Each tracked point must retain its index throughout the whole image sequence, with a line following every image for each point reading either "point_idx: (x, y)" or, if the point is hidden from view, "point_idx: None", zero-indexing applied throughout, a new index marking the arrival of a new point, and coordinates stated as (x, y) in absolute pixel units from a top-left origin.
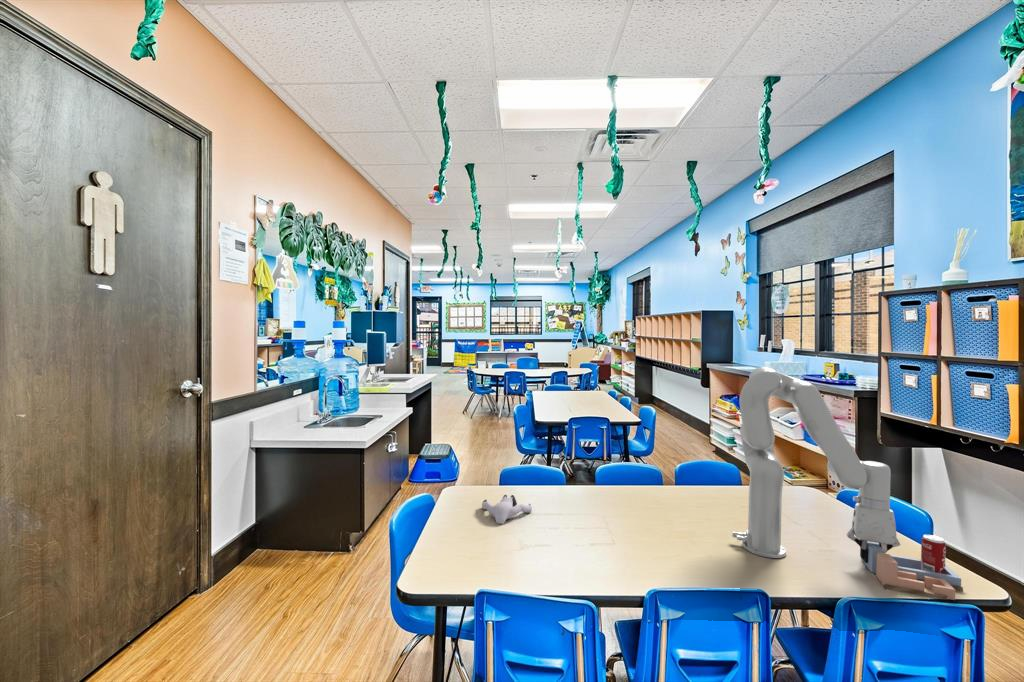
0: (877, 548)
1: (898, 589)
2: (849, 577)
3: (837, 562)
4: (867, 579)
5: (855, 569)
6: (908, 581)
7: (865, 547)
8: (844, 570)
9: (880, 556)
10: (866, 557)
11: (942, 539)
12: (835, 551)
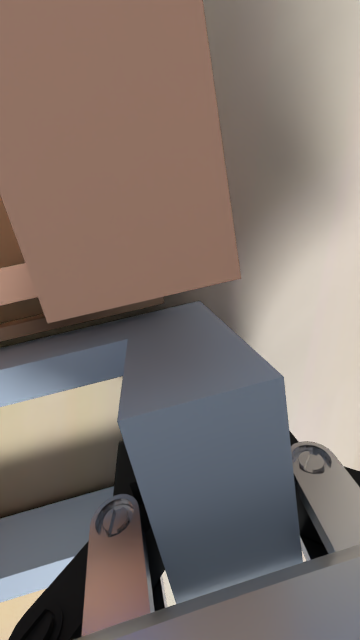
0: (207, 459)
1: None
2: (340, 126)
3: (357, 339)
4: (234, 172)
5: (280, 300)
6: None
7: (298, 470)
8: (345, 236)
9: (210, 67)
10: None
11: None
12: None
